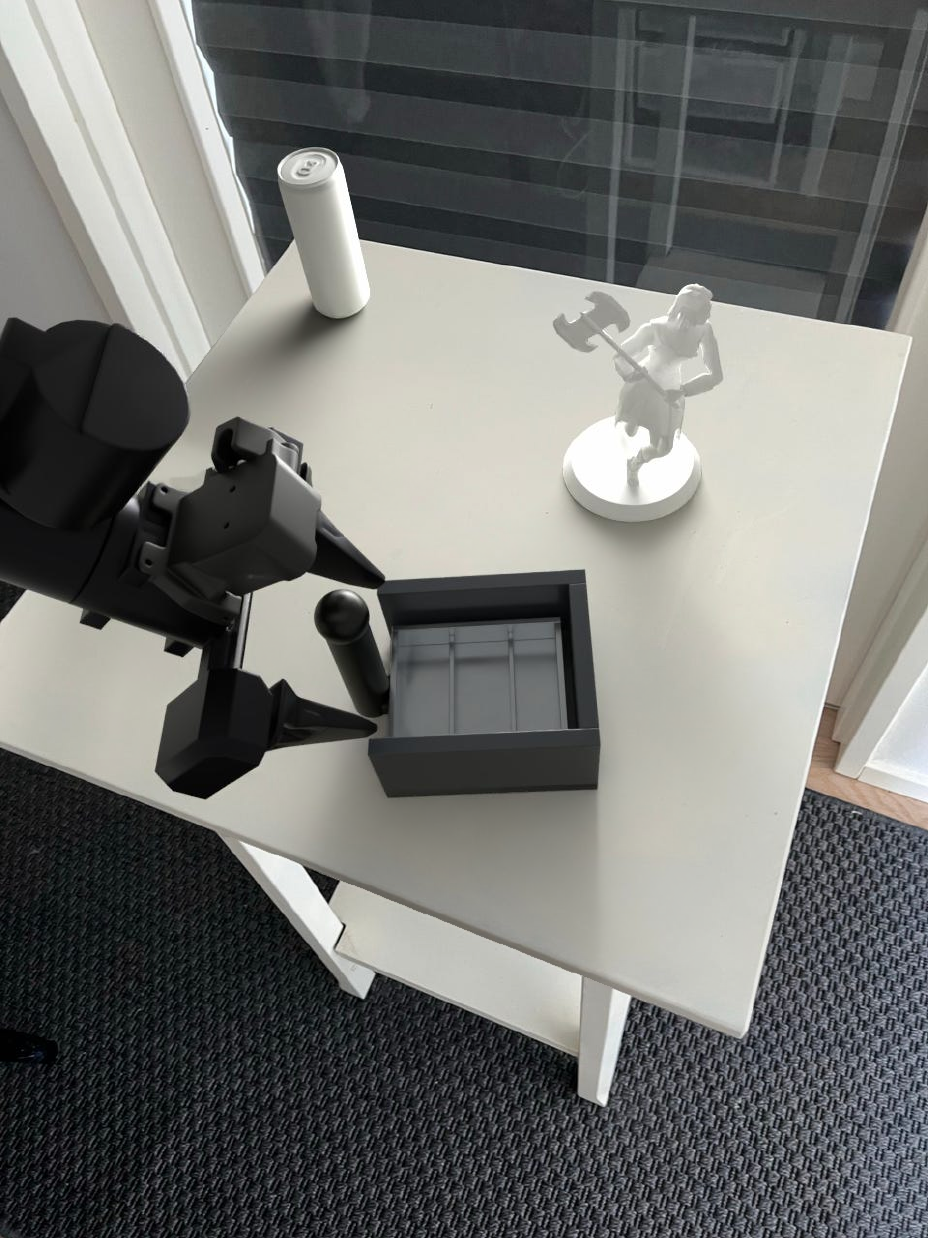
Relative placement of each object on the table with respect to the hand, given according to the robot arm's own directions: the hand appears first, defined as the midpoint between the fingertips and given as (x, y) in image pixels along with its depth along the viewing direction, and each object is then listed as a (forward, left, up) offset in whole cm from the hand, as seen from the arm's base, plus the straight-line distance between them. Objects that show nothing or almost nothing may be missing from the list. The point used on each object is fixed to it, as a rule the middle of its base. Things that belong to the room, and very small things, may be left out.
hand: (377, 653), depth 50 cm
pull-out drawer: (+4, 0, -6) cm, 7 cm away
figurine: (+16, +18, -7) cm, 25 cm away
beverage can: (-6, +38, -7) cm, 39 cm away
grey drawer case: (+6, 0, -7) cm, 9 cm away
